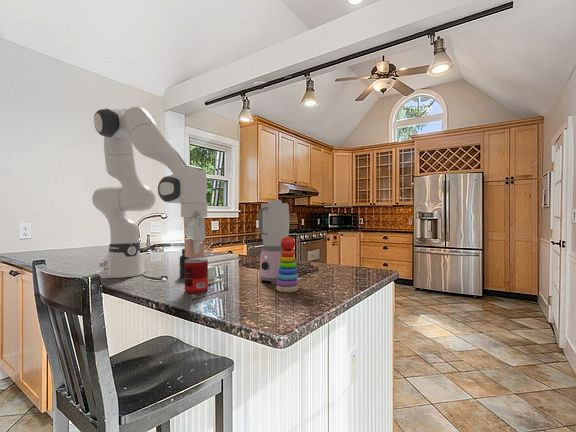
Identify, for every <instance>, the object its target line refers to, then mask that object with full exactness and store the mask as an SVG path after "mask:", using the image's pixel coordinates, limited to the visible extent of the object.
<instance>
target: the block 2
mask: <svg viewBox="0 0 576 432" xmlns="http://www.w3.org/2000/svg"><path fill="white" fill-rule="evenodd" d="M215 273H216V272H215V266H211V265H210V266H209V265H208V281H210V280H213V279H216V278H215Z"/></svg>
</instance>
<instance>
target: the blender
mask: <svg viewBox="0 0 576 432" xmlns="http://www.w3.org/2000/svg"><path fill="white" fill-rule="evenodd" d="M257 216H258V220H257V221H258V223H257V225H258V232H259V234H261V238H262V244H263V245H262V250H261V253H260V255H259V265H260V266H259V268H260V269H259V270H260V271H259V273H260V275H259V276H260V277H259V279H260V280H259V281H260V282H261V283H262V282H263V281H269V282H270V284H271V285H278V284H277V283H276V281H277V279H278V274H279V271H278V269H279V268H280V266H279V263H280V262H281V261H280V257H281V256H282V255H281V251H282V250H284V249H283V248H282V247H281V240H282V239H283V238H284V237H287V236H289V235H290V205H289V203H287V202H286V203H284V202H282V200H281V199H269V200H268V203H267V202H266V203H261V205H260V209H259V211H258V215H257Z"/></svg>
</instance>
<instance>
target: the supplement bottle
mask: <svg viewBox="0 0 576 432" xmlns="http://www.w3.org/2000/svg"><path fill="white" fill-rule="evenodd" d="M181 254H182V255H180V256H179V278H180V279H183V278H185V268H184V264H185V260H186V259H190V258H188V257H185V248H182V249H181ZM195 258H197V257H195Z"/></svg>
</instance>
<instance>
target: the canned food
mask: <svg viewBox="0 0 576 432" xmlns="http://www.w3.org/2000/svg"><path fill="white" fill-rule="evenodd" d="M208 266H209V263H208V258H206V257H196V258H190V259H186V260H185V264H184V268H185V279H184V290H185V293H187V294H200V293H205V292H206V291H208V288H209V285H208Z"/></svg>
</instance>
